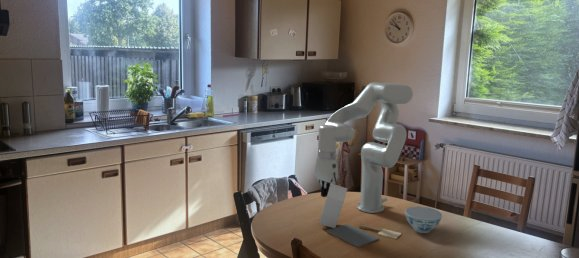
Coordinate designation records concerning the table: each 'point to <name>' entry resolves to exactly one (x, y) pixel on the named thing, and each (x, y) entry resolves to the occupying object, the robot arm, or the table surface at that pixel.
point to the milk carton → (333, 205)
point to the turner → (382, 232)
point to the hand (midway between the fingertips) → (324, 196)
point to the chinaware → (423, 218)
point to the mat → (352, 235)
